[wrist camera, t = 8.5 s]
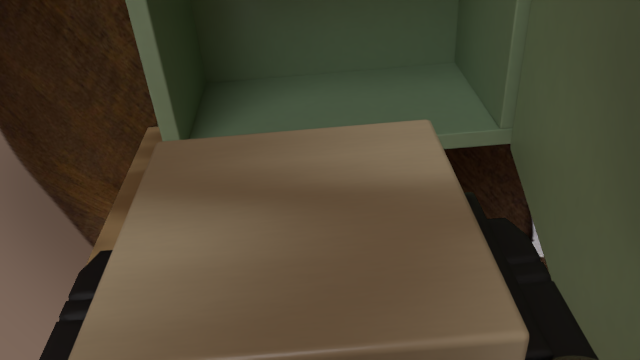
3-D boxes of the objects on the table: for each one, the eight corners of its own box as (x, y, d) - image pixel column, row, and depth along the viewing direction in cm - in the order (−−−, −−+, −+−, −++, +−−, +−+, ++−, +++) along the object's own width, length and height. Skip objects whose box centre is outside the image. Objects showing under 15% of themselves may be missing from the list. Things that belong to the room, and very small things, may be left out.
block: (206, 327, 12) (165, 578, 8) (155, 139, 9) (56, 374, 5) (421, 309, 12) (486, 551, 8) (431, 116, 9) (534, 336, 5)
